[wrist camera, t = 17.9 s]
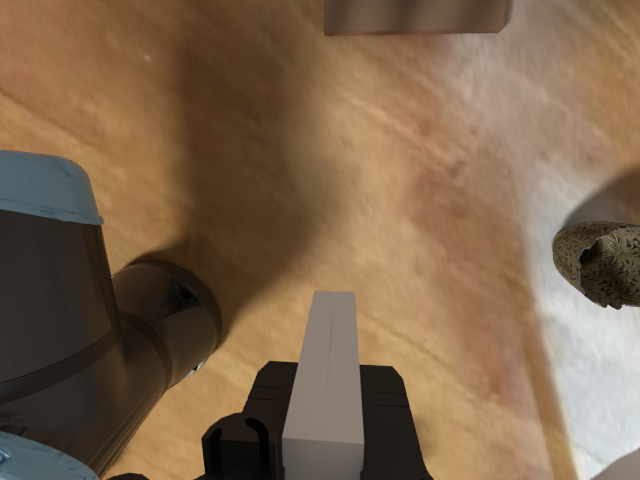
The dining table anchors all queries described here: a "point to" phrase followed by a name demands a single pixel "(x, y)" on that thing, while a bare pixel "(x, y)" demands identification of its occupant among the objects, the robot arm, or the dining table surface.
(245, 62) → the dining table surface
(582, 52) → the dining table surface
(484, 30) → the peg base
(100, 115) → the dining table surface
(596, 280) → the cup
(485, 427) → the dining table surface
